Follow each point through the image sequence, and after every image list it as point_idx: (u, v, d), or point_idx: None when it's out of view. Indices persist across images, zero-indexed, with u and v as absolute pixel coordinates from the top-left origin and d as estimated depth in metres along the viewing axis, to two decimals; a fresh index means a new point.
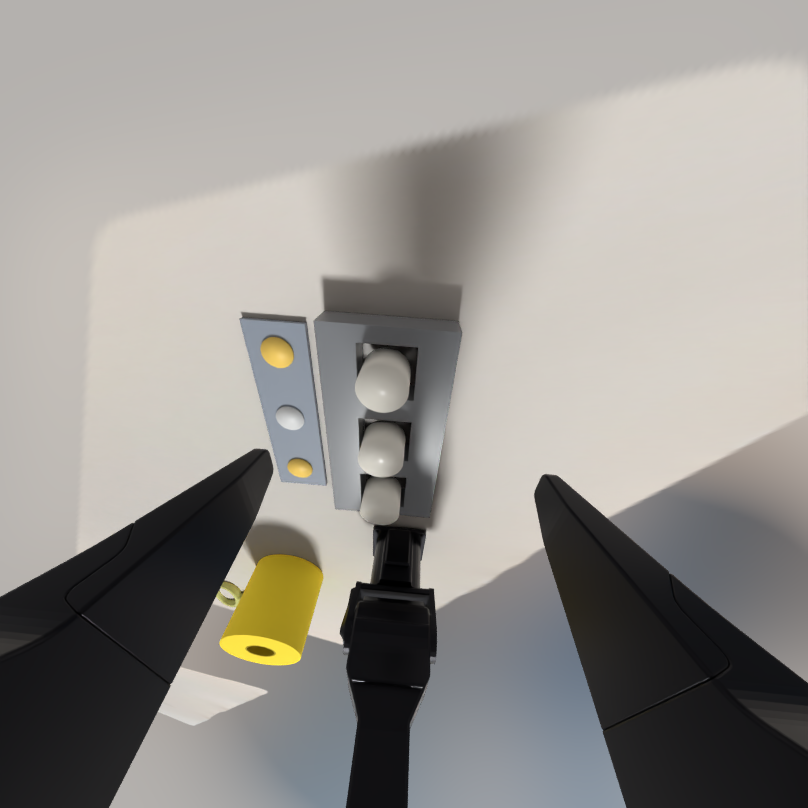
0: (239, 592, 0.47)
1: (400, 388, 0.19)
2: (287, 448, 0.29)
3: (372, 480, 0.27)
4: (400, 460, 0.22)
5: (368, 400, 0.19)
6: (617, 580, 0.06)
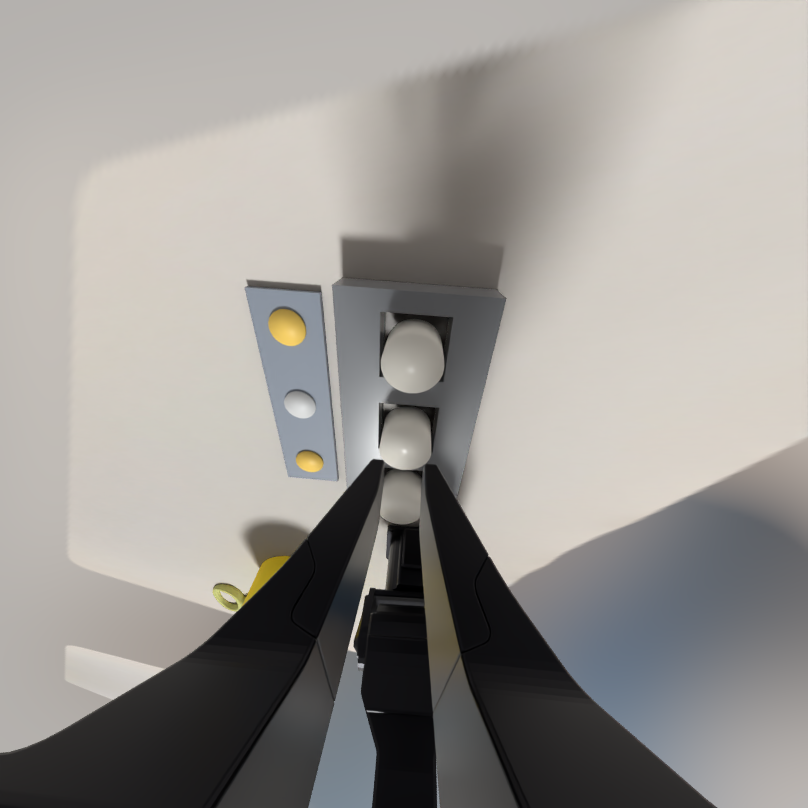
0: (241, 596, 0.45)
1: (434, 363, 0.16)
2: (296, 439, 0.26)
3: (391, 474, 0.24)
4: (428, 450, 0.19)
5: (395, 378, 0.17)
6: (439, 563, 0.06)
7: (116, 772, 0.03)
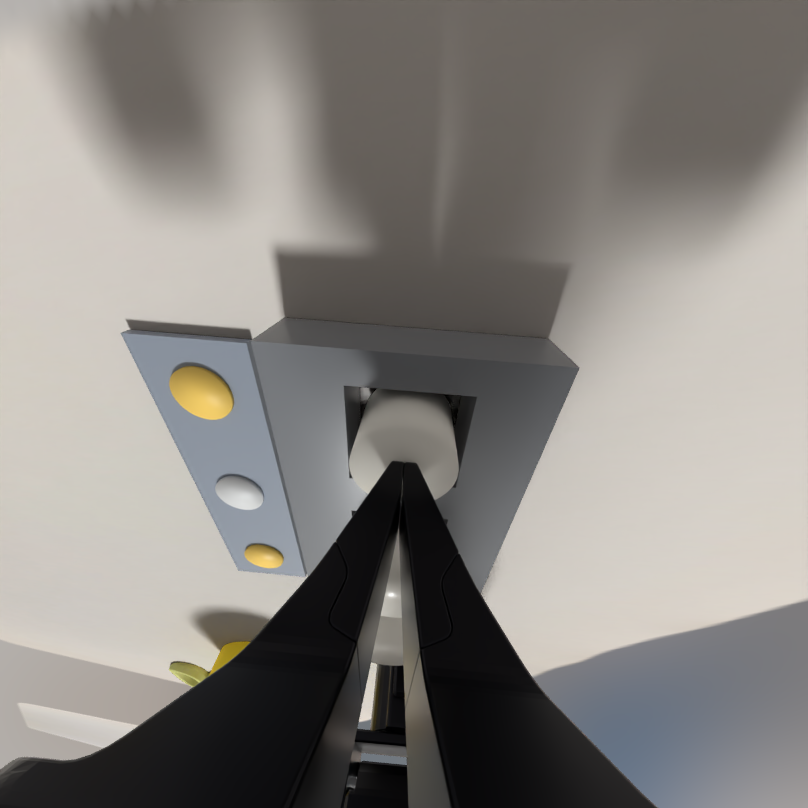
0: (204, 674, 0.37)
1: (441, 467, 0.09)
2: (241, 531, 0.18)
3: None
4: None
5: None
6: None
7: (185, 780, 0.03)
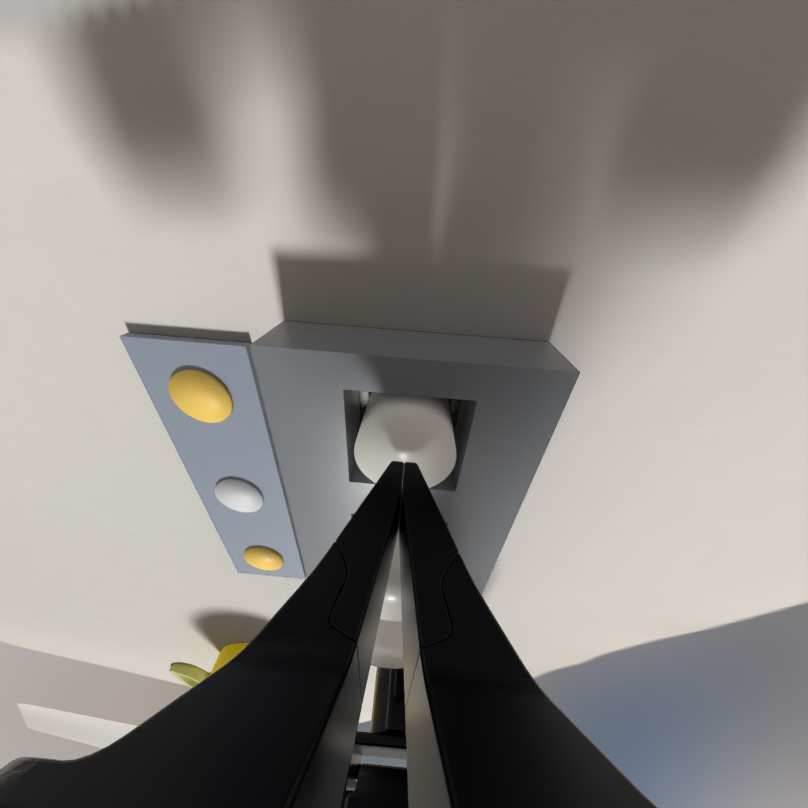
0: (205, 675, 0.37)
1: (440, 454, 0.10)
2: (241, 534, 0.18)
3: None
4: None
5: (378, 472, 0.10)
6: None
7: (184, 780, 0.03)
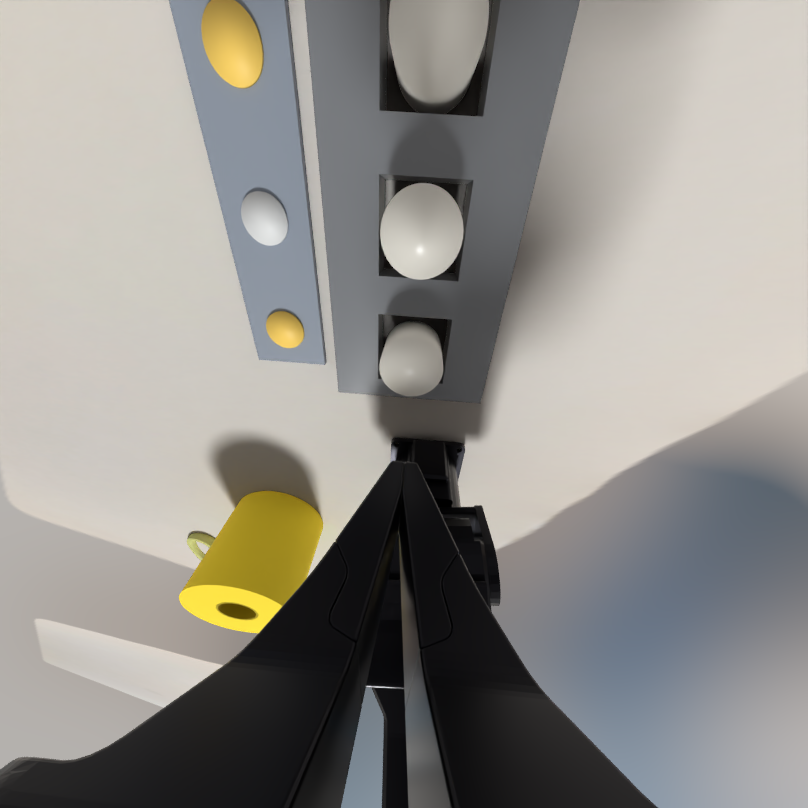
0: None
1: (473, 14, 0.10)
2: (264, 290, 0.19)
3: (397, 327, 0.17)
4: (458, 230, 0.12)
5: (411, 59, 0.11)
6: None
7: (185, 780, 0.03)
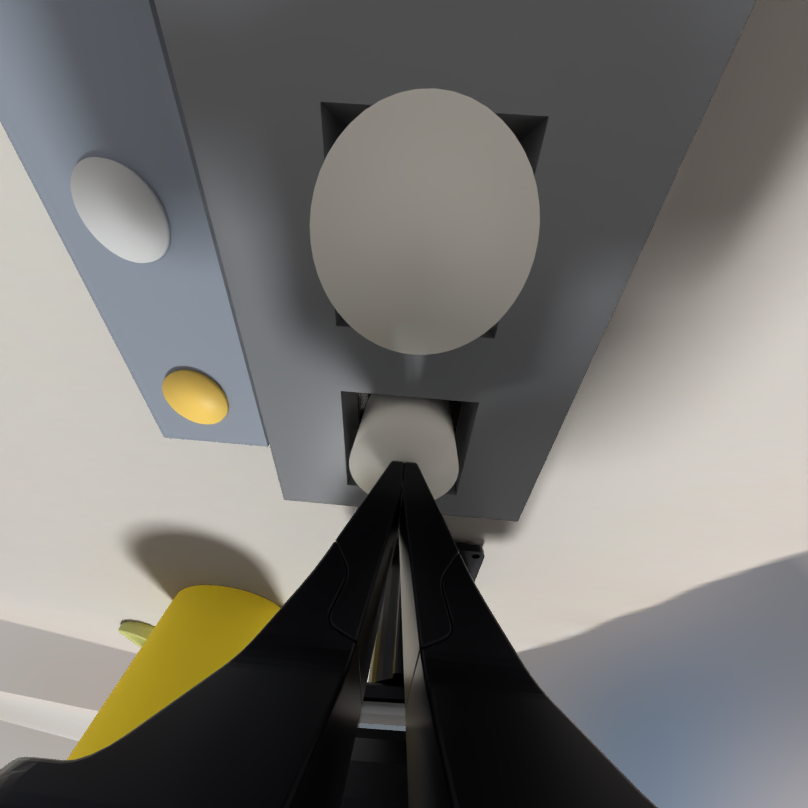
0: None
1: None
2: (150, 337, 0.11)
3: None
4: (523, 237, 0.04)
5: None
6: None
7: (185, 780, 0.03)
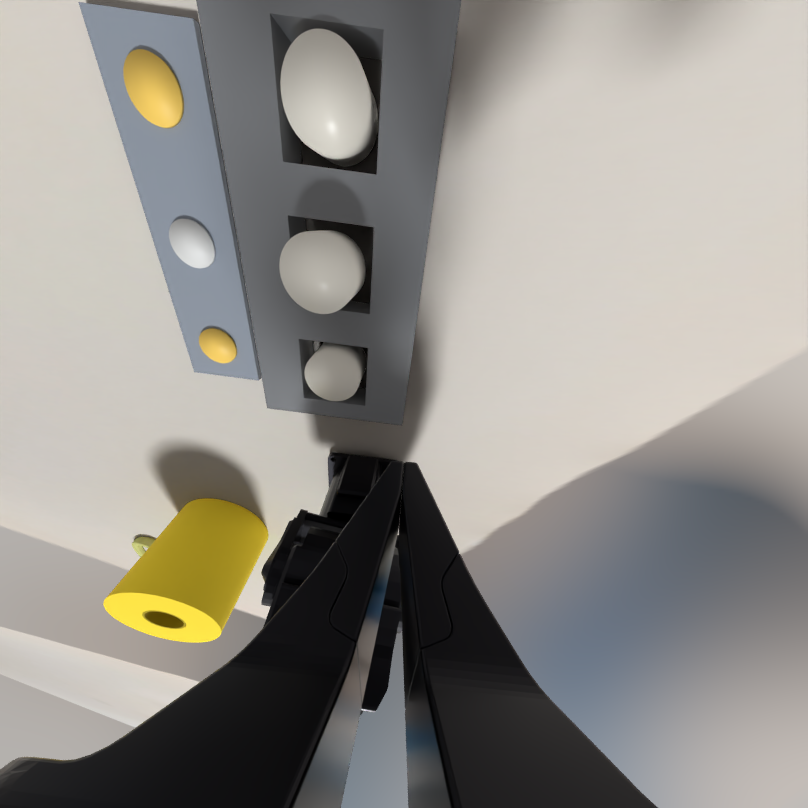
0: None
1: (354, 91, 0.11)
2: (196, 308, 0.19)
3: None
4: (350, 273, 0.13)
5: (304, 123, 0.12)
6: None
7: (185, 780, 0.03)
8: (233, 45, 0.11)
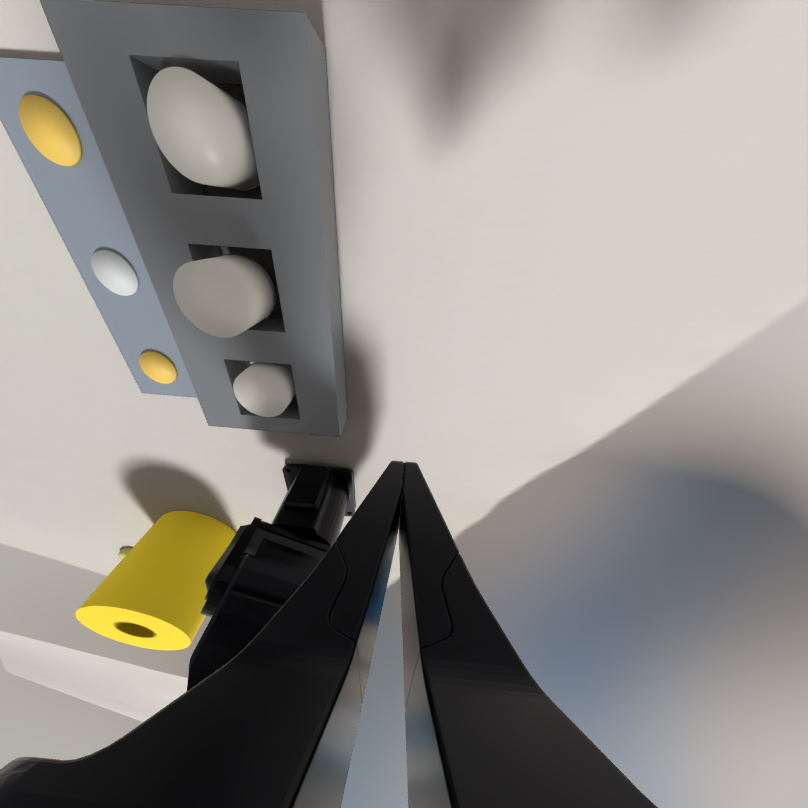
0: None
1: (219, 123, 0.12)
2: (131, 333, 0.20)
3: None
4: (242, 298, 0.14)
5: (179, 156, 0.12)
6: None
7: (185, 779, 0.03)
8: (102, 87, 0.12)
